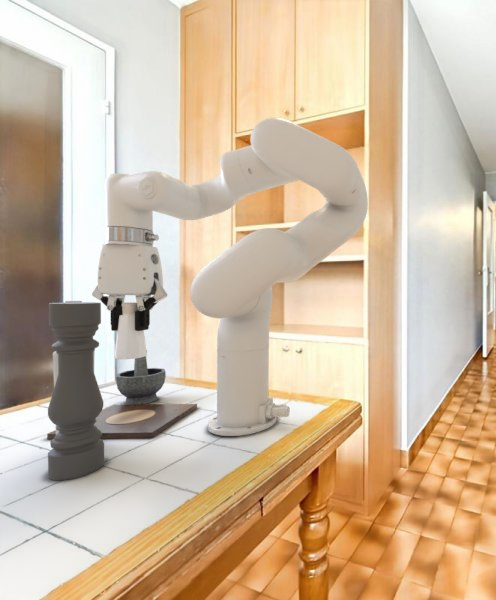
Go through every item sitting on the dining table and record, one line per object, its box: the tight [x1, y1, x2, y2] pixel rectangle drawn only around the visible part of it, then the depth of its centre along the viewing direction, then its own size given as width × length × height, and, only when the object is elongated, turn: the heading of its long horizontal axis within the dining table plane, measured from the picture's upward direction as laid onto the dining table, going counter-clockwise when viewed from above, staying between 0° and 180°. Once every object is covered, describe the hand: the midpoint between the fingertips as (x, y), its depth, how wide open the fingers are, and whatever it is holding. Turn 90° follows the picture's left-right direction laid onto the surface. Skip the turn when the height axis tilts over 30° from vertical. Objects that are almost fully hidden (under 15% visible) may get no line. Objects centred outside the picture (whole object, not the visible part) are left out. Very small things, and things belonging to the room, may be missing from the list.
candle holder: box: [47, 301, 105, 481], centre depth 52 cm, size 6×6×25 cm
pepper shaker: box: [113, 302, 148, 360], centre depth 70 cm, size 5×5×11 cm
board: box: [46, 403, 198, 440], centre depth 71 cm, size 18×16×1 cm
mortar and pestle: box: [115, 349, 167, 404], centre depth 84 cm, size 11×9×12 cm
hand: (130, 329), depth 70 cm, fingers closed on pepper shaker, 3 cm apart
